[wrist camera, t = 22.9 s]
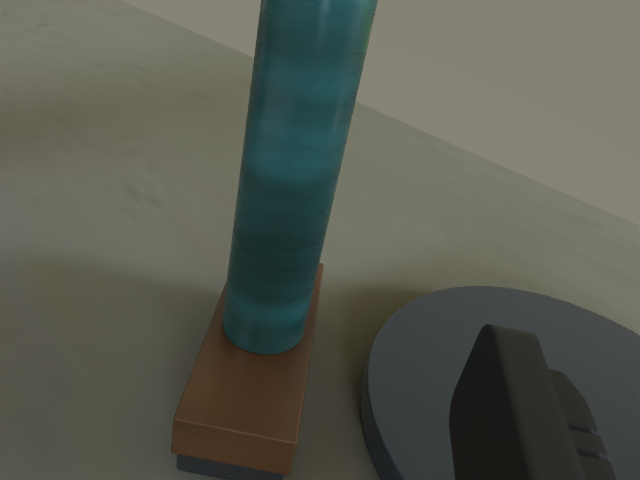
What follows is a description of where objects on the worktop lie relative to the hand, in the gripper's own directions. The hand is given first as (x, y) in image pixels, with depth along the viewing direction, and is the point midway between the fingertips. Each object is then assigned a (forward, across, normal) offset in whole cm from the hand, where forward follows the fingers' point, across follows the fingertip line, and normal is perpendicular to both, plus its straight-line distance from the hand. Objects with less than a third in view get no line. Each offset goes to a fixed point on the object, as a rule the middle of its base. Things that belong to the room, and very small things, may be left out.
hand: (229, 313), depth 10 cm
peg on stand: (+8, 0, +10) cm, 12 cm away
